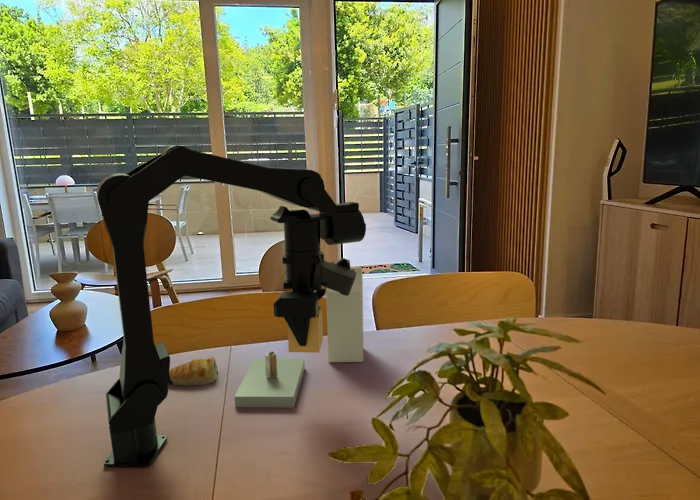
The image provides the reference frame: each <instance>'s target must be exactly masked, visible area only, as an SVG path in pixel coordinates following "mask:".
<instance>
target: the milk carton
mask: <svg viewBox="0 0 700 500" xmlns="http://www.w3.org/2000/svg"><path fill="white" fill-rule="evenodd" d="M352 269H354V271H355V272H356V278H355V281H354V283H353V286H352V289H351V291H350V294H349V295H348V296H345V295H342V294H340V292H337V291H334V290H332V289H329V288H326V292H325V294H326V295H325V296H326V323H327V353H328V354H327V356H328V360H327V361H328V362H329V363H364V307H363V306H364V304H363V303H364V300H363V299H364V298H363V297H364V295H363V293H364V292H363V289H364V288H363V287H364V285H363V267H351V270H352Z"/></svg>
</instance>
